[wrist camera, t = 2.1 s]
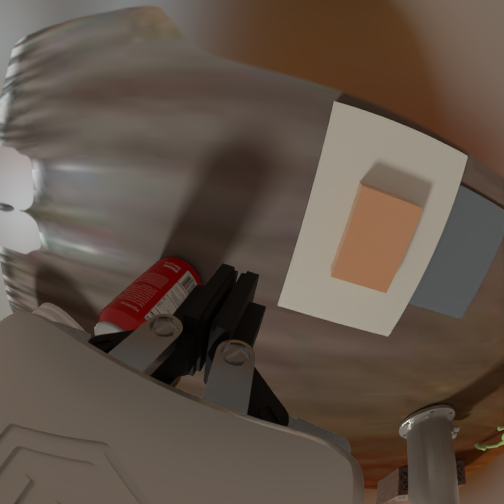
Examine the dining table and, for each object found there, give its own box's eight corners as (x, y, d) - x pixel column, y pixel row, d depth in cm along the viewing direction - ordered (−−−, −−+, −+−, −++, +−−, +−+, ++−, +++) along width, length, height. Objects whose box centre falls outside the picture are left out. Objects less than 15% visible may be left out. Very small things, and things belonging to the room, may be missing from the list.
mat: (510, 213, 22) (511, 214, 22) (459, 317, 29) (460, 319, 29) (446, 177, 23) (447, 178, 23) (395, 298, 31) (395, 299, 31)
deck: (451, 152, 22) (467, 156, 19) (384, 316, 32) (388, 336, 29) (333, 105, 24) (334, 101, 21) (283, 287, 34) (277, 305, 31)
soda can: (215, 280, 36) (158, 358, 23) (188, 311, 40) (136, 382, 27) (170, 242, 36) (96, 303, 23) (149, 277, 40) (85, 338, 26)
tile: (416, 202, 22) (422, 208, 20) (383, 283, 26) (386, 293, 25) (359, 181, 23) (362, 185, 21) (330, 266, 27) (330, 276, 25)
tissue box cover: (463, 459, 45) (465, 483, 36) (439, 475, 51) (440, 498, 42) (398, 466, 50) (398, 495, 41) (377, 481, 56) (376, 506, 47)
